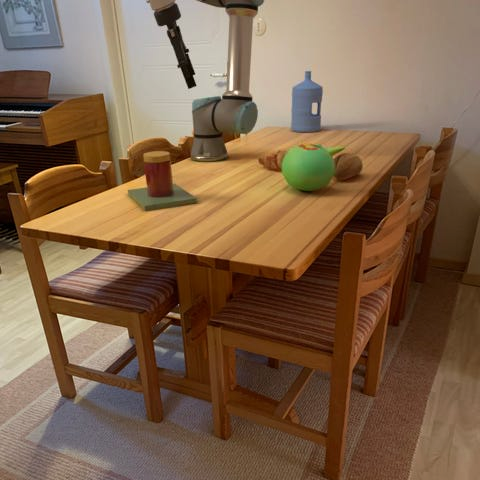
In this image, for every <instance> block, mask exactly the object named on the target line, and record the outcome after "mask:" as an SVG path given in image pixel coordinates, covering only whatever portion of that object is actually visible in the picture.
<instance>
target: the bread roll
mask: <svg viewBox="0 0 480 480" xmlns="http://www.w3.org/2000/svg"><path fill="white" fill-rule="evenodd" d="M333 159H334V162H335V173H334V176H333V178H334V179H335V180H337V181H345V180H349V179H351V178H352V177H355V176H357V175H359V174H361V172H362V170H363V167H364V165H363V161H362V158H360V156H359V155H357V154H354V153H349V152H344V153H340V154H339V153H338V155H336V156H335V157H334V158H333Z"/></svg>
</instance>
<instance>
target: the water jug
mask: <svg viewBox="0 0 480 480" xmlns="http://www.w3.org/2000/svg"><path fill="white" fill-rule="evenodd" d="M291 88H292V89H291V123H290V130H291V131H292V132H294V133H315V132H319V131H321V128H322V123H321V122H322V114H321V109H322V101H323V93H324V89H323V86H322V85H320V84H319V83H317V82H315V81H313V80H312V70H306V71H304V79H303V80H302V81H301V82H299V83H297V84H296V85H294V86H292V87H291ZM314 103H316V105H317V107H316V108H317V109H316V113H313V104H314Z"/></svg>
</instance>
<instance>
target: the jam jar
mask: <svg viewBox="0 0 480 480" xmlns="http://www.w3.org/2000/svg"><path fill="white" fill-rule="evenodd" d="M143 167H144V175H145V183H146V187H147V193H148V196H150V197H167V196H171V195H173V194H174V191H173V184H174V182H173V170H172V161H171V159H170V160H169V161H166V162H160V163H149V162H145V161H144V160H143Z"/></svg>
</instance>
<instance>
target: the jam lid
mask: <svg viewBox="0 0 480 480" xmlns="http://www.w3.org/2000/svg"><path fill="white" fill-rule="evenodd" d="M169 160H171V153H170V152H169V151H165V150H155V151H148V152H144V153H143V162H144V161H145V162H149V163H160V162H166V161H169Z"/></svg>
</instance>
